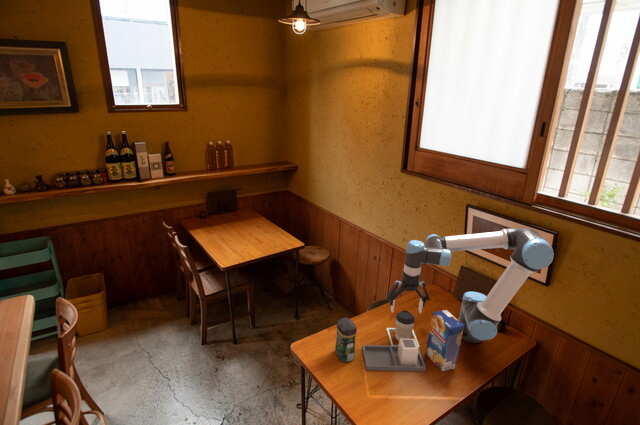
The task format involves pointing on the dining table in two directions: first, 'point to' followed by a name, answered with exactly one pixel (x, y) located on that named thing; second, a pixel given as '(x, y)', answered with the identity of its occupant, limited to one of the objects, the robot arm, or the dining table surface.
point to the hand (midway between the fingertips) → (405, 311)
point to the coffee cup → (404, 325)
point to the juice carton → (444, 340)
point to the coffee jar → (345, 339)
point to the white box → (407, 351)
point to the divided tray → (388, 359)
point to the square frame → (394, 330)
